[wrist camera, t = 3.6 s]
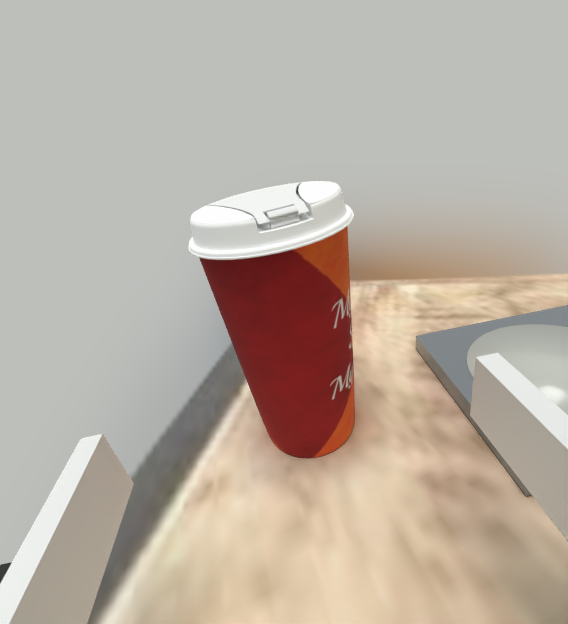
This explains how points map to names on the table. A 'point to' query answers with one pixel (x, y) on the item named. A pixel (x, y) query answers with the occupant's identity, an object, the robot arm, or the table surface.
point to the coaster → (512, 347)
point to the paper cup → (286, 306)
